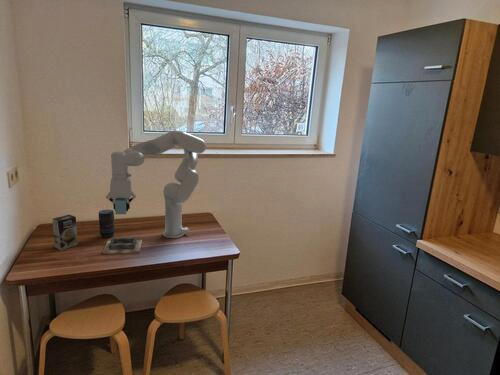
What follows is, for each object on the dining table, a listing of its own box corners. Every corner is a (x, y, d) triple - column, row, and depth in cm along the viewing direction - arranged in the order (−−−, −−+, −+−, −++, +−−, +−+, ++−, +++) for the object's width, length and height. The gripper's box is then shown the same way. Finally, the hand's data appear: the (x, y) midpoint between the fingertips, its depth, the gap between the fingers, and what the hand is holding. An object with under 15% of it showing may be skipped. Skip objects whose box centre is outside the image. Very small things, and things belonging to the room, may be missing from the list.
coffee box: (61, 250, 169) (58, 221, 165) (54, 247, 173) (51, 218, 169) (78, 244, 177) (76, 216, 173) (71, 241, 180) (69, 213, 176)
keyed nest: (142, 241, 186) (142, 235, 185) (139, 252, 172) (139, 246, 172) (108, 242, 182) (107, 236, 181) (102, 253, 169) (102, 247, 168)
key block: (127, 209, 176) (127, 196, 175) (125, 214, 169) (125, 201, 167) (117, 209, 175) (117, 196, 173) (115, 214, 168) (114, 201, 166)
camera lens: (117, 234, 194) (116, 209, 190) (110, 239, 186) (109, 214, 182) (104, 232, 194) (103, 208, 190) (97, 238, 186) (95, 213, 183)
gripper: (138, 174, 173) (139, 207, 177) (103, 174, 169) (105, 208, 173) (137, 178, 166) (138, 212, 170) (100, 178, 162) (102, 213, 166)
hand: (121, 209), depth 172 cm, fingers closed on key block, 5 cm apart
